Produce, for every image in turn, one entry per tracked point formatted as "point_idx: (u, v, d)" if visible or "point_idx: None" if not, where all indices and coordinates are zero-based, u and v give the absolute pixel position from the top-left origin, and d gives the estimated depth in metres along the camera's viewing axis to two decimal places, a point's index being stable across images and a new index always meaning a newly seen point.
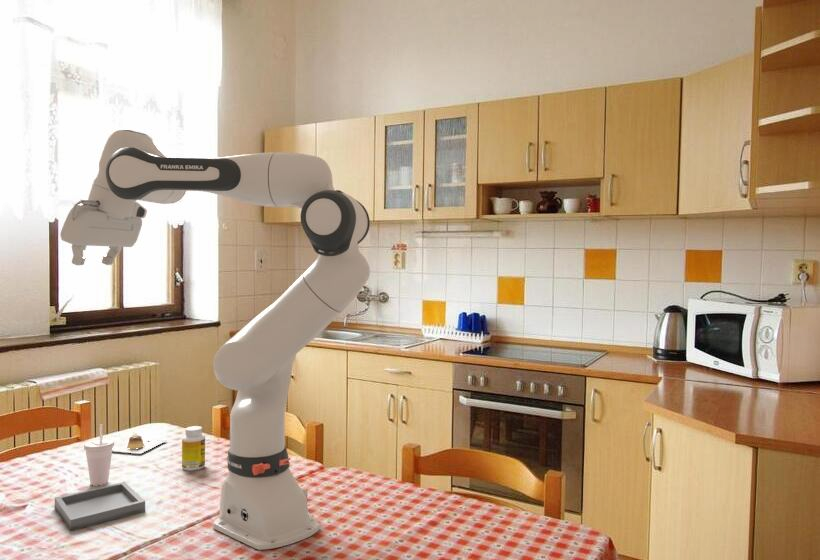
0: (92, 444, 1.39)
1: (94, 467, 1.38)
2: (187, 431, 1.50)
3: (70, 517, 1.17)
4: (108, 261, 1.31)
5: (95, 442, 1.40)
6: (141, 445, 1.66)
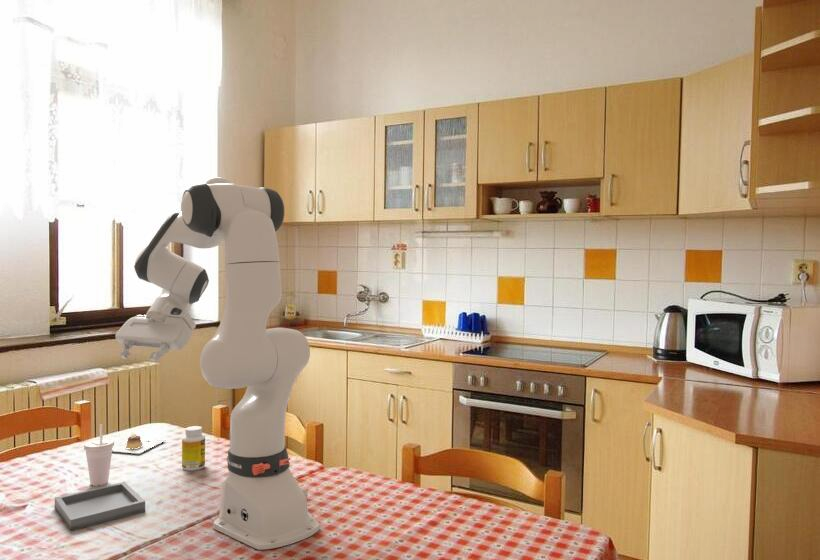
0: (92, 444, 1.39)
1: (94, 467, 1.38)
2: (187, 431, 1.50)
3: (70, 517, 1.17)
4: None
5: (95, 442, 1.40)
6: (140, 445, 1.66)
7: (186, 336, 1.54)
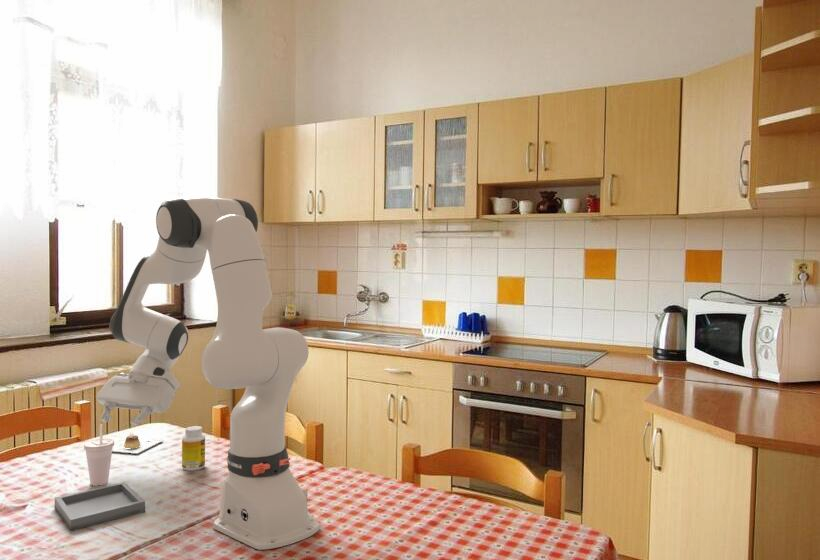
0: (92, 444, 1.39)
1: (94, 466, 1.38)
2: (187, 431, 1.50)
3: (70, 517, 1.17)
4: None
5: (95, 442, 1.40)
6: (138, 445, 1.66)
7: (169, 398, 1.48)
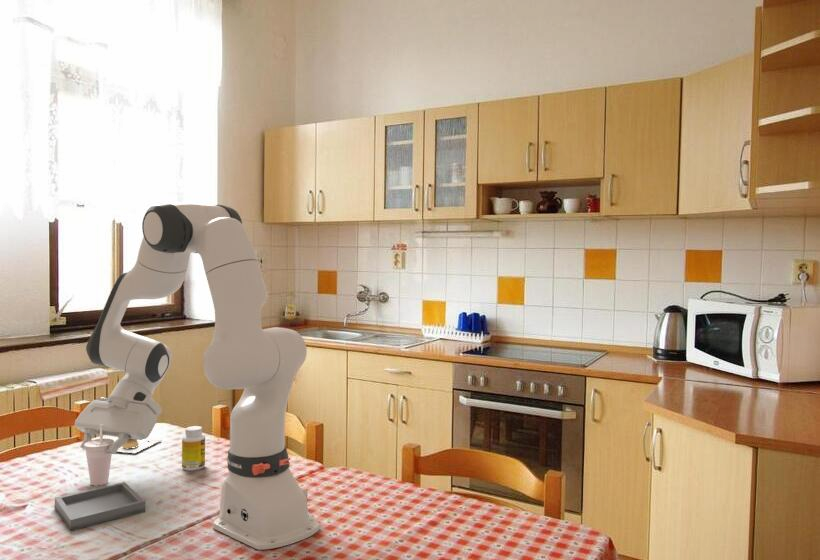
0: (92, 444, 1.39)
1: (94, 466, 1.38)
2: (187, 431, 1.50)
3: (70, 517, 1.17)
4: None
5: (95, 442, 1.40)
6: (136, 444, 1.67)
7: (150, 425, 1.42)
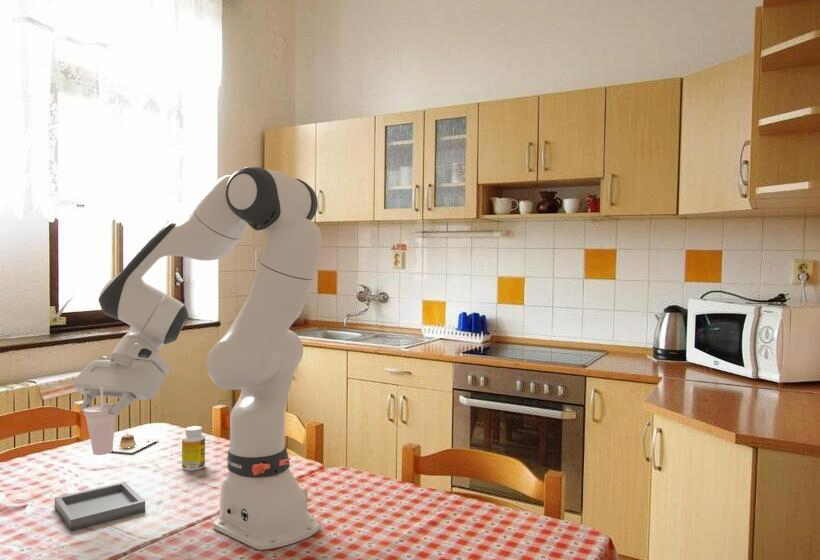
0: (93, 409, 1.25)
1: (96, 434, 1.24)
2: (187, 431, 1.50)
3: (70, 517, 1.17)
4: None
5: (96, 407, 1.25)
6: (133, 444, 1.67)
7: (157, 383, 1.28)
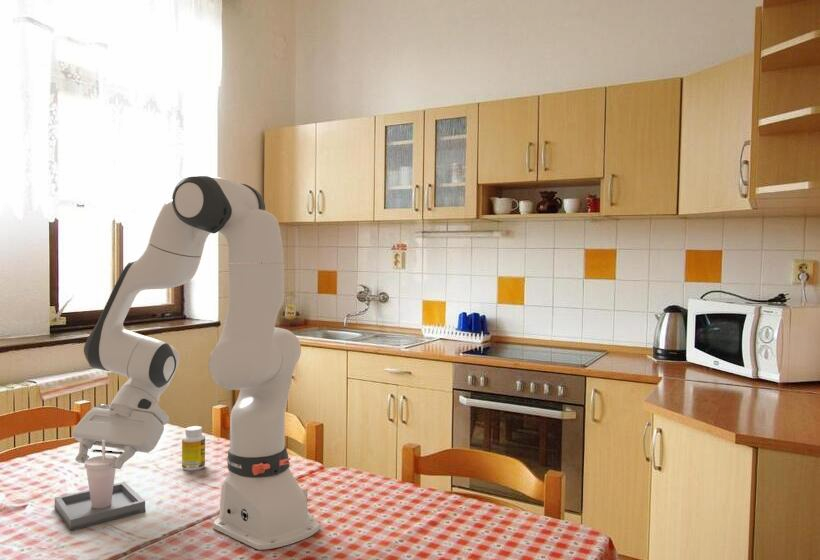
0: (93, 462, 1.25)
1: (95, 487, 1.24)
2: (187, 431, 1.50)
3: (70, 517, 1.17)
4: None
5: (97, 459, 1.26)
6: None
7: (156, 435, 1.28)
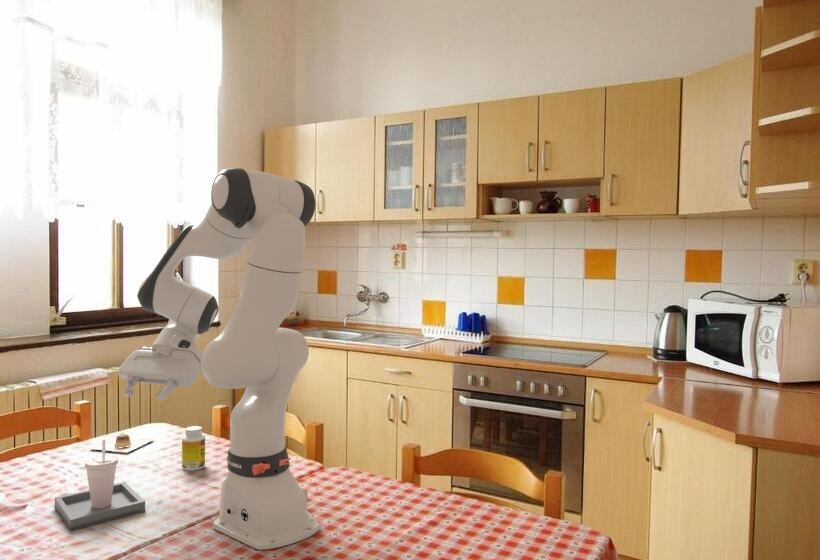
0: (93, 462, 1.25)
1: (95, 487, 1.24)
2: (187, 431, 1.49)
3: (70, 517, 1.17)
4: None
5: (97, 459, 1.26)
6: (128, 444, 1.67)
7: (196, 372, 1.41)
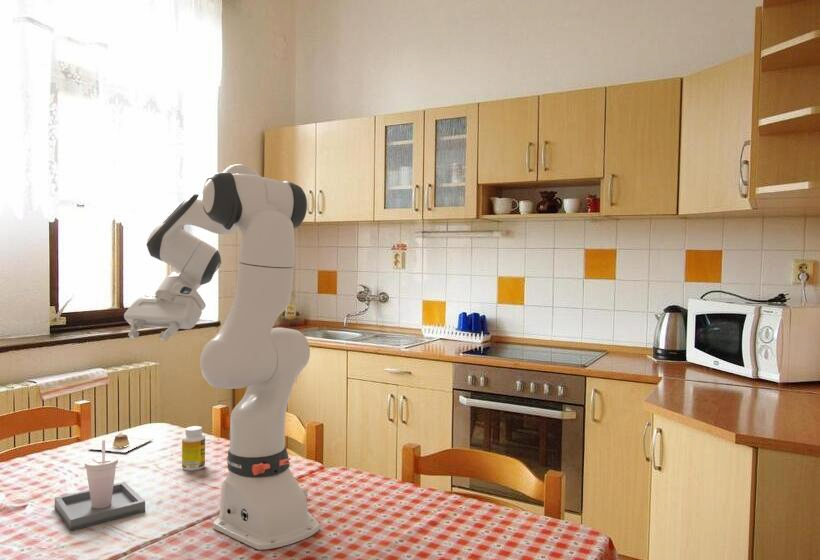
0: (93, 462, 1.25)
1: (95, 487, 1.24)
2: (187, 431, 1.50)
3: (70, 517, 1.17)
4: None
5: (97, 460, 1.26)
6: (126, 444, 1.67)
7: (196, 315, 1.51)
